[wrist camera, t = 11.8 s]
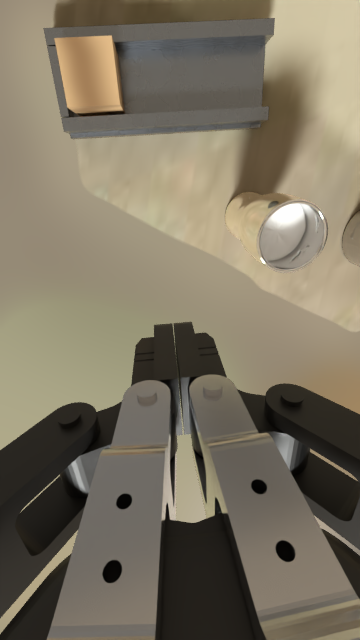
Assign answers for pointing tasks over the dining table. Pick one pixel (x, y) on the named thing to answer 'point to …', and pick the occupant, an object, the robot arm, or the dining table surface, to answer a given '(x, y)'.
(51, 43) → the chute
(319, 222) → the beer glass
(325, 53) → the dining table surface
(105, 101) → the oak block
